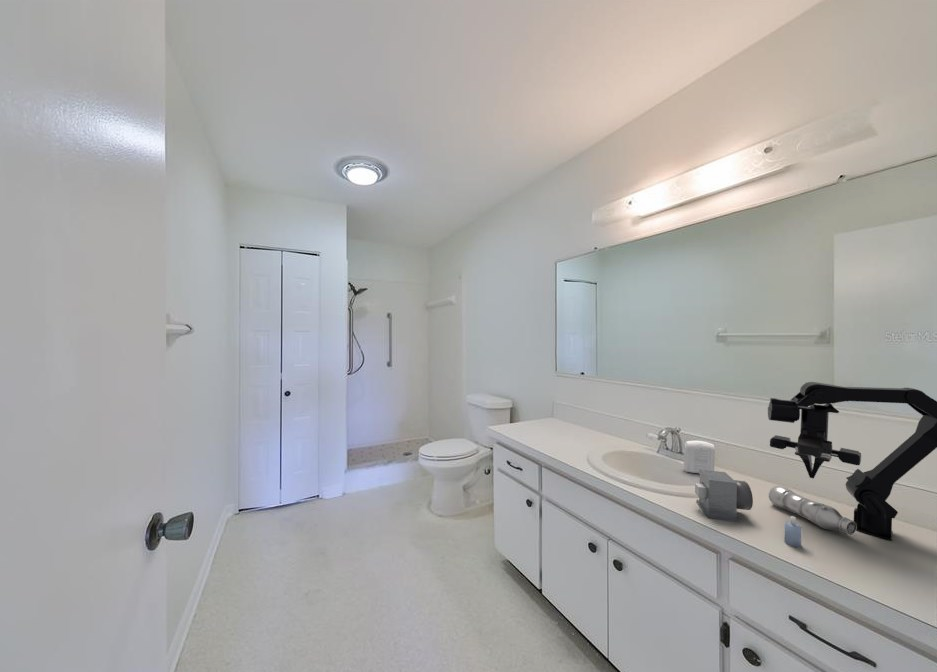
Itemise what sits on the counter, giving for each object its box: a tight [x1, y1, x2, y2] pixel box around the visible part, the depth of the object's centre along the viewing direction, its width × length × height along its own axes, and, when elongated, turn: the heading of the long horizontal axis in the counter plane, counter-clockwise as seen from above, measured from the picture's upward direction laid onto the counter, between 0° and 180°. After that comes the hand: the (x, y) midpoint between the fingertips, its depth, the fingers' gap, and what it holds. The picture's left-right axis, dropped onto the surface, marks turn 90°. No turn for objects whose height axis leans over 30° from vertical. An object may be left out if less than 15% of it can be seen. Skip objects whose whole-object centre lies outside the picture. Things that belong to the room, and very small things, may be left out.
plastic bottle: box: [768, 485, 857, 535], centre depth 103 cm, size 6×7×20 cm
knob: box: [694, 479, 754, 511], centre depth 107 cm, size 13×8×8 cm, turn 74°
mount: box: [696, 470, 741, 523], centre depth 107 cm, size 8×10×11 cm
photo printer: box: [683, 439, 716, 474], centre depth 137 cm, size 10×4×12 cm, turn 72°
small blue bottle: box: [783, 515, 803, 548], centre depth 91 cm, size 3×3×7 cm
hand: (811, 477), depth 103 cm, fingers closed
